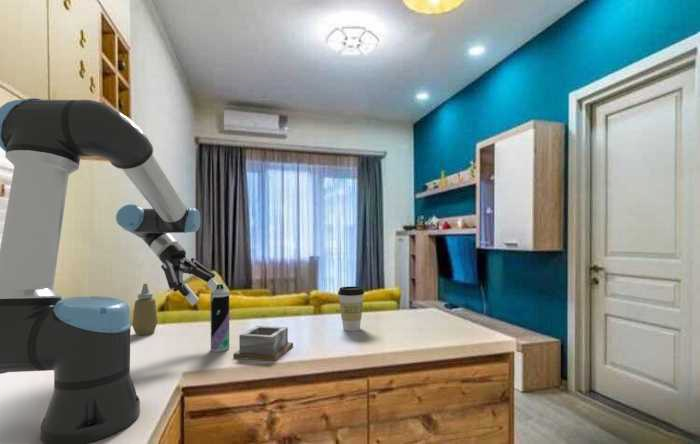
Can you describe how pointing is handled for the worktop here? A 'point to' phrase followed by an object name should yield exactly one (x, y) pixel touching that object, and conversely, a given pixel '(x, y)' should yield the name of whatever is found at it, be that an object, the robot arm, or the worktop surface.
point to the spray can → (219, 319)
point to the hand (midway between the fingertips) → (209, 298)
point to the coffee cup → (351, 307)
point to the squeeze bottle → (145, 313)
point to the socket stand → (263, 343)
